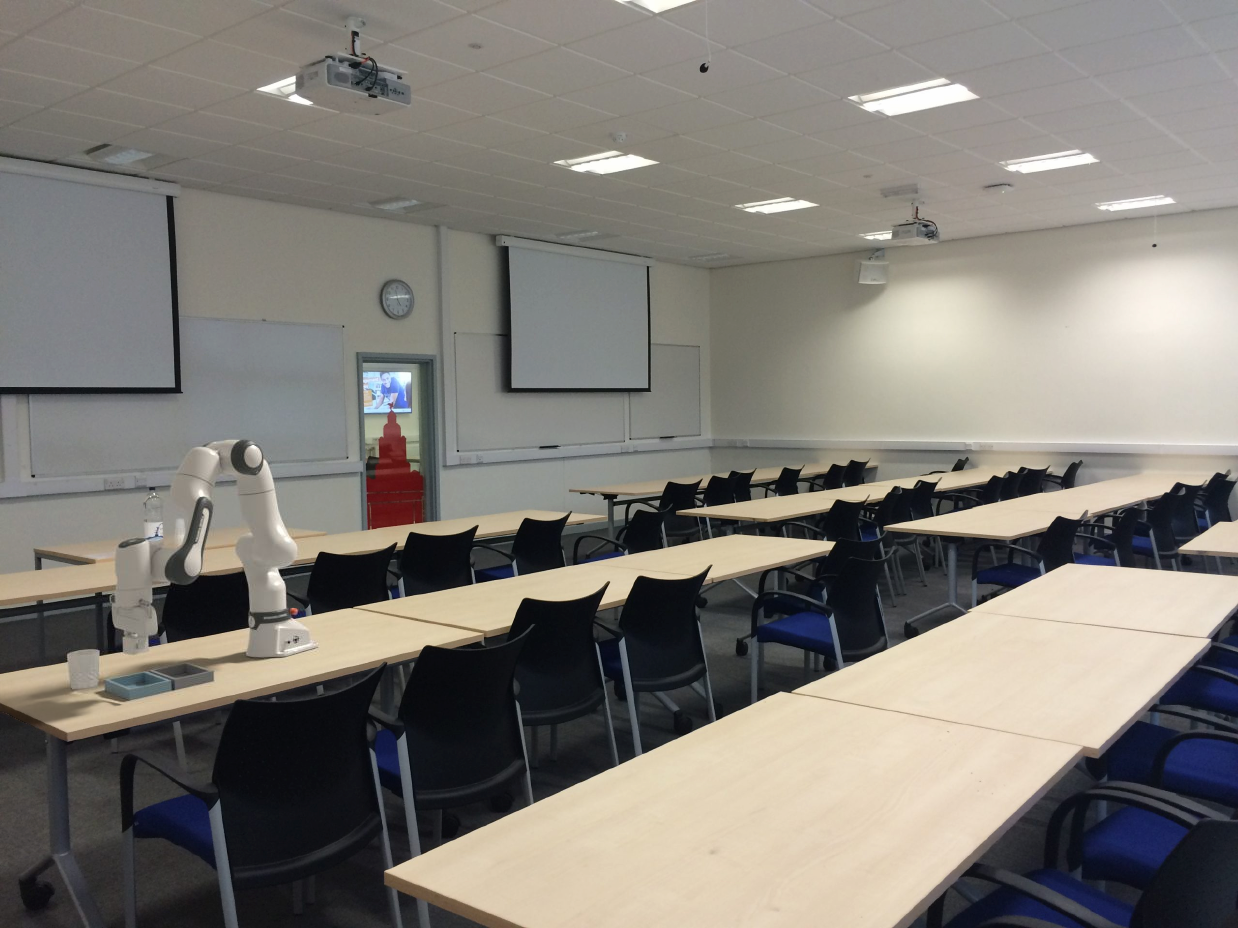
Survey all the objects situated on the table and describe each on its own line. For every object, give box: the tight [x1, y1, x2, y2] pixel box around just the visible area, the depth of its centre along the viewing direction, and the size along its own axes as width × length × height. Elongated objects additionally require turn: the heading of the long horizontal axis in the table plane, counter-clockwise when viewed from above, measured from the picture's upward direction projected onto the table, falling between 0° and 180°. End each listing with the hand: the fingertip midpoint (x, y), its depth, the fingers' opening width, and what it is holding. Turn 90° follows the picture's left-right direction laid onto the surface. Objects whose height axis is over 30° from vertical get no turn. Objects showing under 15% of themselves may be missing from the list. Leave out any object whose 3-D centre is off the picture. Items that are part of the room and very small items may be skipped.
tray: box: [148, 662, 215, 691], centre depth 262 cm, size 11×16×4 cm
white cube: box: [122, 633, 149, 656], centre depth 252 cm, size 4×4×4 cm
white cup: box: [66, 648, 100, 690], centre depth 259 cm, size 8×8×10 cm
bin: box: [104, 670, 173, 702], centre depth 253 cm, size 11×16×4 cm
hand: (135, 647), depth 252 cm, fingers closed on white cube, 5 cm apart
